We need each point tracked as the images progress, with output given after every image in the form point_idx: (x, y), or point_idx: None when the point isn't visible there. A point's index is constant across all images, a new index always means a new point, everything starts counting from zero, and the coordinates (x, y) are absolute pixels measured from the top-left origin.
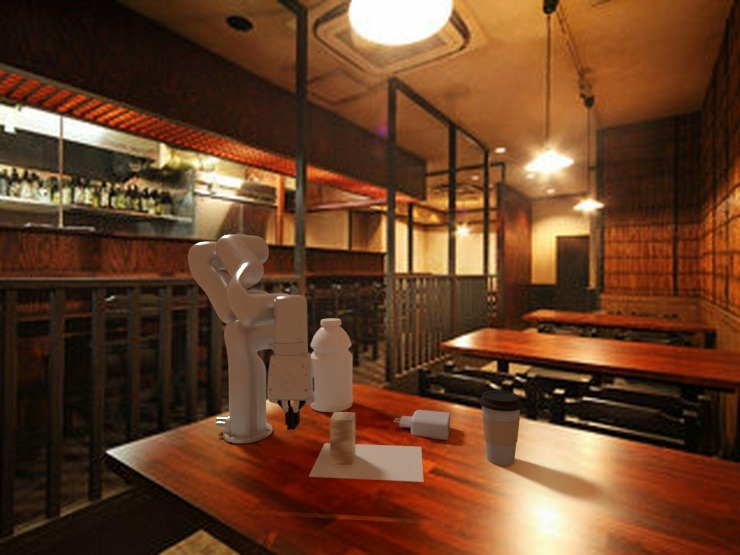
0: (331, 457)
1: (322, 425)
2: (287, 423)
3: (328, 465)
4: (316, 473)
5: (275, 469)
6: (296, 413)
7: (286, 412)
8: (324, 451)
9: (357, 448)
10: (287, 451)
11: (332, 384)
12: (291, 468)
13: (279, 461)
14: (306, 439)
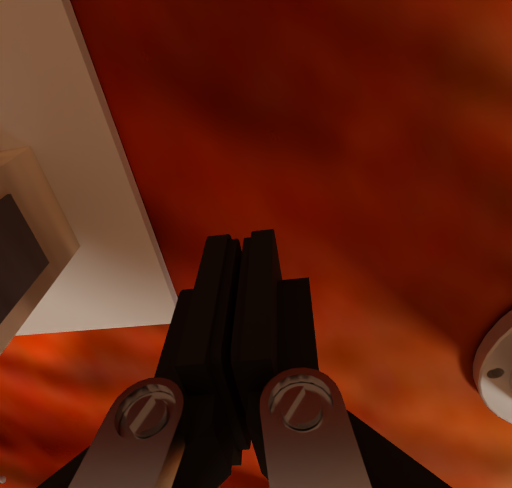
0: (2, 161)
1: None
2: (269, 265)
3: (29, 130)
4: (29, 20)
5: (319, 37)
6: (166, 378)
7: (299, 380)
8: (138, 257)
9: None
10: (332, 240)
11: None
12: (229, 74)
13: (333, 135)
14: None
